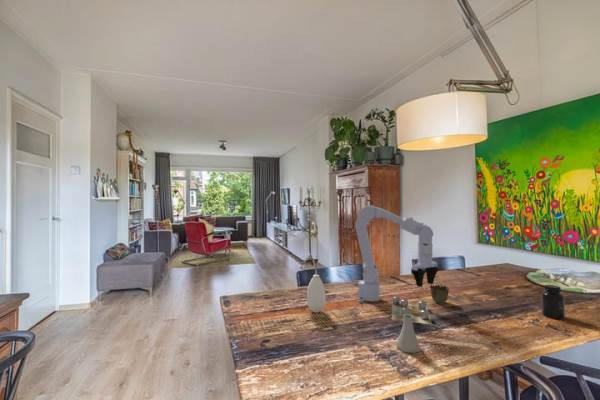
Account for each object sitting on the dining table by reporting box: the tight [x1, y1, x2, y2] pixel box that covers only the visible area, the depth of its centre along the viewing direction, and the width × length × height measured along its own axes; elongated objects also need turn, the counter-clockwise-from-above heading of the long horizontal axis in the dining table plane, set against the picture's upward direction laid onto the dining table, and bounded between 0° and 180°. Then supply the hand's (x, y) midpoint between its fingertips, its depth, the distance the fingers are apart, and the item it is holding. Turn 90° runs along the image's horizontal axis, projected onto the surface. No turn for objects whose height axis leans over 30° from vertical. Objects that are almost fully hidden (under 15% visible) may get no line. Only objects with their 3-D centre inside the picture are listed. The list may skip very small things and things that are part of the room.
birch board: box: [391, 302, 433, 325], centre depth 115 cm, size 14×19×1 cm
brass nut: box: [407, 305, 419, 315], centre depth 114 cm, size 4×4×2 cm
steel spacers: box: [392, 295, 430, 320], centre depth 116 cm, size 13×16×3 cm
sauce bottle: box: [306, 269, 327, 314], centre depth 119 cm, size 8×8×18 cm
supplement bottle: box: [541, 284, 566, 320], centre depth 113 cm, size 7×7×12 cm
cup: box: [429, 284, 450, 305], centre depth 126 cm, size 8×7×8 cm
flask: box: [396, 314, 422, 354], centre depth 90 cm, size 7×7×10 cm
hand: (424, 284), depth 123 cm, fingers open, 7 cm apart
